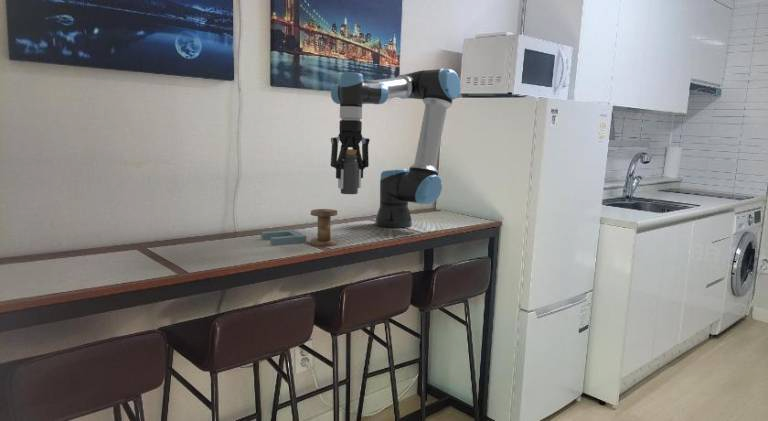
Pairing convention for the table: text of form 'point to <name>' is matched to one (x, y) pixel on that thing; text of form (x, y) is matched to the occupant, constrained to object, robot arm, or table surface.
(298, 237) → the bracket
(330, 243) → the wooden spool
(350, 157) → the bottle
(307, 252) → the table surface
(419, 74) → the robot arm
